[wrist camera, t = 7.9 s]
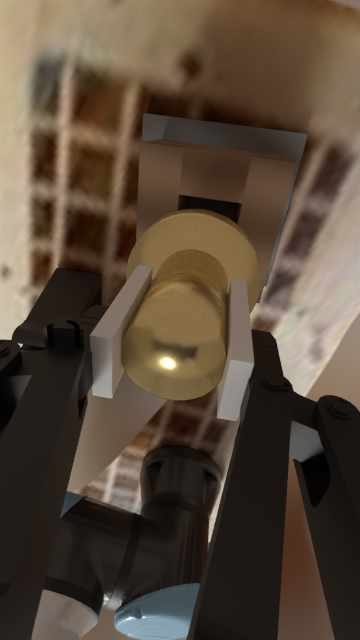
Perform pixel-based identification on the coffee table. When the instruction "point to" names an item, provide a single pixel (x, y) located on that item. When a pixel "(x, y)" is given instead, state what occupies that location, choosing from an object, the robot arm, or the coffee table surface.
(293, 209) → the coffee table surface
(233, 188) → the walnut block
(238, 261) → the brass pin
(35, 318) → the phone stand
